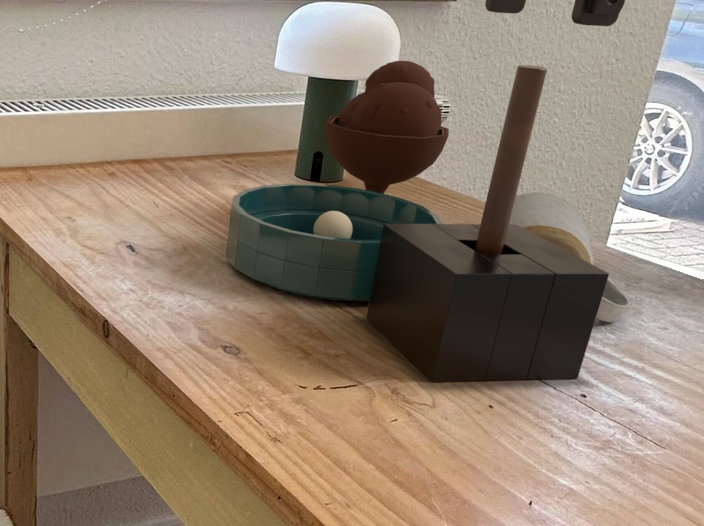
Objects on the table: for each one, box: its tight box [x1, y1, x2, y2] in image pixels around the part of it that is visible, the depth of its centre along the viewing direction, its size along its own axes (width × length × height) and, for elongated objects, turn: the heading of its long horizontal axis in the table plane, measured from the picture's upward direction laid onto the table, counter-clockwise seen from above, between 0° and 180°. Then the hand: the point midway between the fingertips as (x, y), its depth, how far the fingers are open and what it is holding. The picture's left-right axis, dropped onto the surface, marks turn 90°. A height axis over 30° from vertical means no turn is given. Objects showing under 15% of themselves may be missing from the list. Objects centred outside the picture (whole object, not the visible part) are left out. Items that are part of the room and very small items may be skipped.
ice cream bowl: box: [325, 60, 450, 194], centre depth 80 cm, size 11×11×15 cm
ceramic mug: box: [509, 192, 630, 323], centre depth 65 cm, size 11×8×8 cm
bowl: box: [225, 183, 444, 302], centre depth 70 cm, size 16×16×5 cm
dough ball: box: [313, 211, 353, 239], centre depth 74 cm, size 3×3×3 cm
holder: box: [365, 223, 610, 383], centre depth 57 cm, size 10×10×7 cm
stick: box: [475, 64, 548, 255], centre depth 55 cm, size 2×2×18 cm
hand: (544, 18), depth 50 cm, fingers open, 8 cm apart
